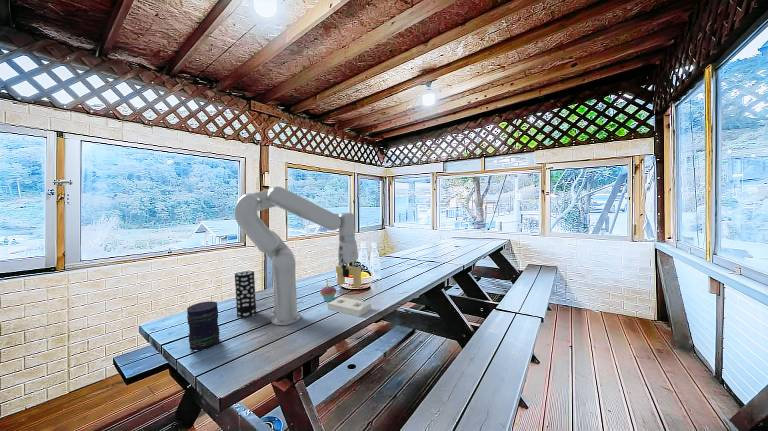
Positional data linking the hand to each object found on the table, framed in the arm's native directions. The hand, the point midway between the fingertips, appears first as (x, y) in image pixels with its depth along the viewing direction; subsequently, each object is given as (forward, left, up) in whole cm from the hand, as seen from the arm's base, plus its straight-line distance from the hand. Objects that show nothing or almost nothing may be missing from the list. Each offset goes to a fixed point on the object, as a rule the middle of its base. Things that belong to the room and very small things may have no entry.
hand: (348, 275), depth 138 cm
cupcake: (-18, +5, -17) cm, 25 cm away
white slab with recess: (0, 0, -17) cm, 17 cm away
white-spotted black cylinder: (-40, -28, -17) cm, 52 cm away
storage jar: (-28, -53, -17) cm, 62 cm away
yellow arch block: (0, 0, -5) cm, 5 cm away
